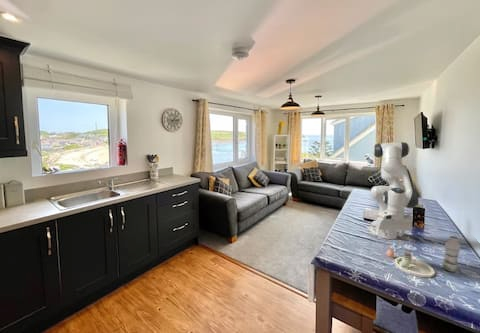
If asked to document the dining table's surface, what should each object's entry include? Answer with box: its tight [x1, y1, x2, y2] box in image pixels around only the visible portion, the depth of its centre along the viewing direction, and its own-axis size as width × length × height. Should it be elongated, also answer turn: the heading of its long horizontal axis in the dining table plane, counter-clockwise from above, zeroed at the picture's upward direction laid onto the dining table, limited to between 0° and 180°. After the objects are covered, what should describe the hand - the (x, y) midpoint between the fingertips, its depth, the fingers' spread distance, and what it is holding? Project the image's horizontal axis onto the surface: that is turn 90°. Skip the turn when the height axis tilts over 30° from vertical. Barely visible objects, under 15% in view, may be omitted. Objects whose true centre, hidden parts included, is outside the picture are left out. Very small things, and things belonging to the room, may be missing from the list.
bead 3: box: [401, 258, 410, 269], centre depth 129 cm, size 4×4×5 cm
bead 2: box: [403, 252, 413, 264], centre depth 134 cm, size 4×4×5 cm
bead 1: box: [386, 248, 395, 259], centre depth 140 cm, size 4×4×5 cm
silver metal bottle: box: [441, 235, 461, 273], centre depth 127 cm, size 6×7×20 cm
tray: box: [394, 256, 436, 279], centre depth 129 cm, size 18×18×2 cm
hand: (392, 235), depth 138 cm, fingers open, 8 cm apart
